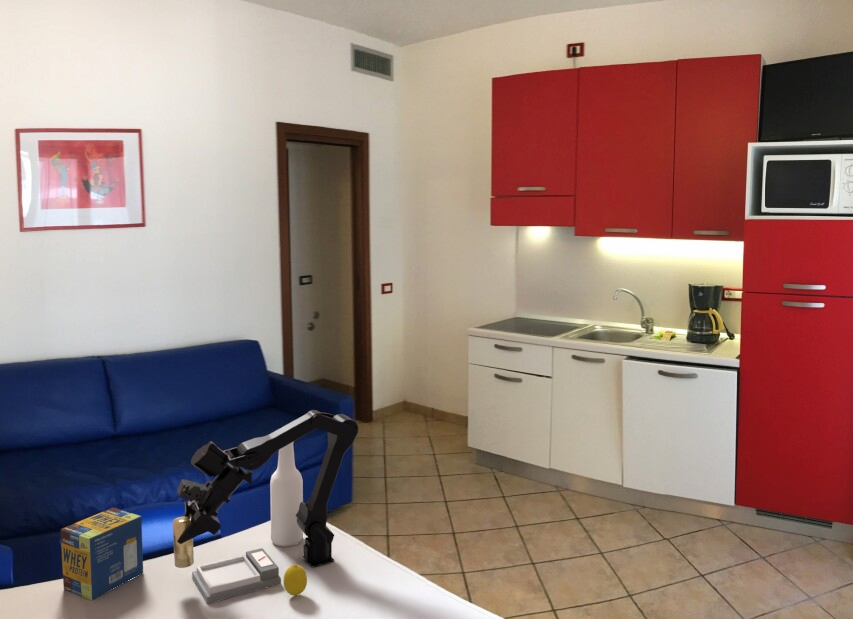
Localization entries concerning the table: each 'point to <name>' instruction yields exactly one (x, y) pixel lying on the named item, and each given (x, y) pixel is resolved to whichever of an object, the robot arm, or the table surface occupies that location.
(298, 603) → the table surface
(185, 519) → the cylinder
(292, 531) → the alcohol
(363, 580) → the table surface
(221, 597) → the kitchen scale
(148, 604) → the table surface
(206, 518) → the robot arm
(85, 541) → the protein box
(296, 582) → the lemon
